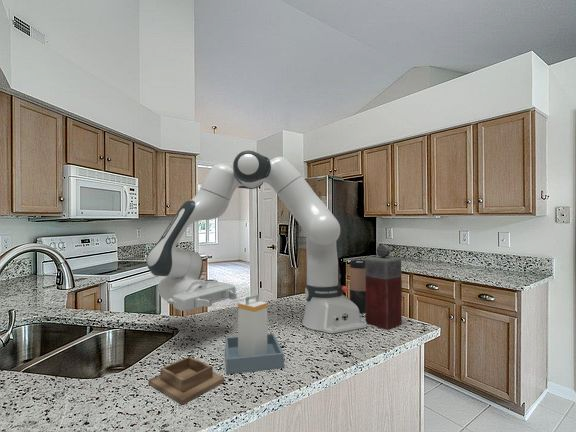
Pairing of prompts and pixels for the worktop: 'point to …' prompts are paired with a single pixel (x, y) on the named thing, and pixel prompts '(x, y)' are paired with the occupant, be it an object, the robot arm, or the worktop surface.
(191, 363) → the dock
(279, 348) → the tray
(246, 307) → the tall lidded canister
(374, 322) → the red square storage jar
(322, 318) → the robot arm
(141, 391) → the worktop surface
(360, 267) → the travel mug
